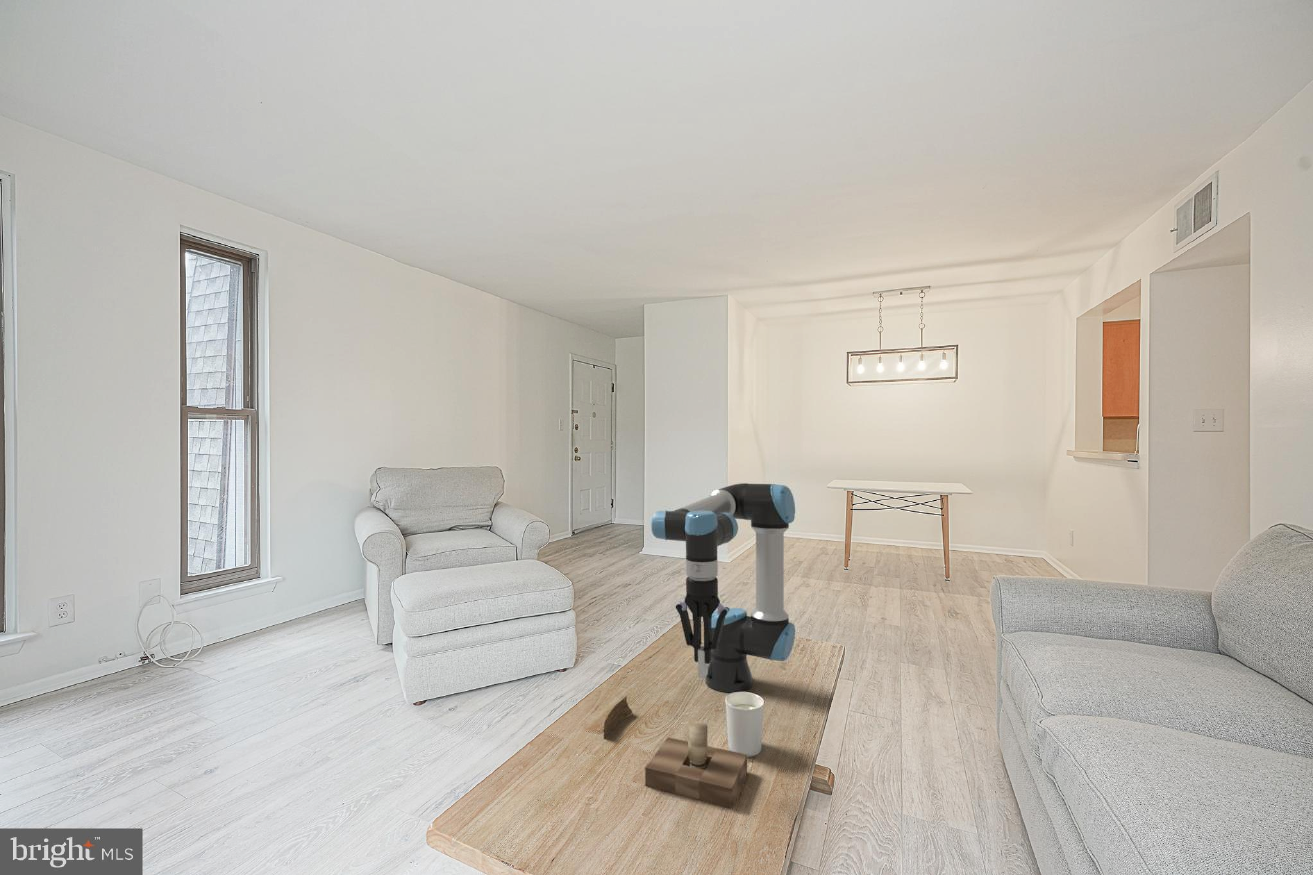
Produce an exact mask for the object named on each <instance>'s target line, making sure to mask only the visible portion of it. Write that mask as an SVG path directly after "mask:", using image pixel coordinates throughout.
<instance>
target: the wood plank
mask: <svg viewBox="0 0 1313 875" xmlns="http://www.w3.org/2000/svg"><path fill="white" fill-rule="evenodd" d="M632 714H633V710H632V709H631V708H630V707H629V704H628V701H627V696H625V697H624V698H622V699H621V700H620V701H618V702H617V703H616V705H614V706H613V708H612V709H611V710H610V712H609V713H608V714H607V716H606V719H605V720H604V722H603V723H604V724H603V730H602V732H603V739H605V738H606V737H607V736H608V734H609V733H610V732H611V731H612V730H613V729H614V727H615V726H616V725H618V724H620V723H621V722H622V721H623V720H624V719H626V718H628V717H629V716H631V715H632Z"/></svg>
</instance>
